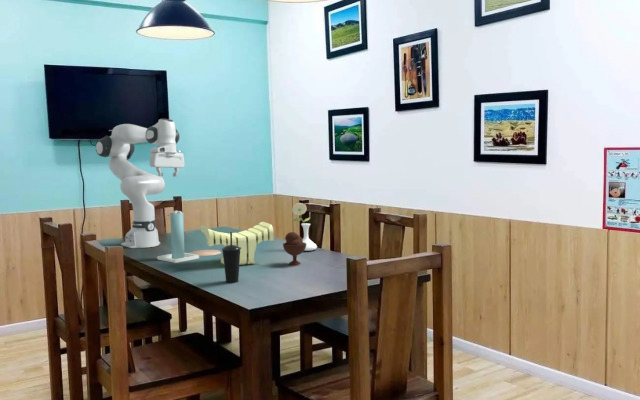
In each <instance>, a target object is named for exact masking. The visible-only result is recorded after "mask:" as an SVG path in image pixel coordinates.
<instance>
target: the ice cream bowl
mask: <svg viewBox="0 0 640 400" xmlns="http://www.w3.org/2000/svg"><path fill="white" fill-rule="evenodd" d="M302 239H303V237H302V236H300V235H299V234H298V233H296V232H294V231H291V232H288V233H287V234H286V235H285V237H284V240H285V241H286V242H284V243H282V246H283V249H284V252H286V253H287V255H288V254H289V255H290V256H292V260H291V261H290V262H289V263H288V265H289V264H290V266H299V265H298V264H300V265H301V262H300V261H298V260H297V257H298V256H299V255H301V254H302V253H304V252H305V251H304V250H305V248H306V243H304V242H303V240H302Z"/></svg>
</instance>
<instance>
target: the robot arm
mask: <svg viewBox="0 0 640 400" xmlns="http://www.w3.org/2000/svg"><path fill="white" fill-rule="evenodd" d="M179 141H180V133H179V131H178V130H177V128H176V123H175V121H174V120H173V119H169V118H168V119H167V118H160V119H158V122H156V123H155V124H154V125H152V126H149V127H148V128H147V127H144V126H141V125H137V124H133V123H132V124H131V123H123V124H119V125H116V126H115V127H113V128H112V131H111V135H110V136H108V135H105V136H104V137H102V138H100V139H98V140H97V141H96V144H95V151H96V154H97V155H98V156H99V157H101V158H102V157H103V158H110V160H109V162H108V168H109V170H110V171H111V174H112V175H114V176H115V177H116V178H118V180H120V181H121V182H120V185H119V186H120V187H119V188H120V191H121V193H122V194H123V195H124V196H126V198H128V200H129V202H130V203H131V205H132V209H133V221H132V222H131V225H132V226H131V229H130V230H129V231H128V232H126V233H125V237H124V239H125V241H124V242H121V243H120V245H121V246H123V247H126V248H129V249H140V248H142V249H144V248H151V247H152V248H153V247H157V246H159V245H160V244H161V241H159V239H160V238H159V233H158V229H157V228H156V227H157V222H156V221H157V220H156V217H155V216H156V215H155V206H154V205H153V203H151V202H149V201H148V200H147V196H151V195H158V194H160V193H162V192H163V191H164V190H165V187H166V183H165V180H164V178H163V174H164V173H163V172H162V168H167V169H168V168H169V169H171V168H172V169H173V170H174V172H173V173H172V177H175V178H177V177H178V173H179V171H180V169H183V168H185V166H186V165H185V164H186V163H185V156H184V152H182V151H181V150H177V144H178V142H179ZM140 143H141V144H142V143H149V144H151V145H158V146H155V147H152V148H150V150H149V151H150V154H149V166H150V167H151V168H155V169H156V172H157V174H153V173H150V172H148V171H145V170H143V169H140V168H138V167H137V166H136V165H134V164H133V163H132V162H131V161H129V160H130V159H131V157H132V156H133V155H134V152H135V144H140Z"/></svg>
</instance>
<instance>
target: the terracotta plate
mask: <svg viewBox="0 0 640 400" xmlns="http://www.w3.org/2000/svg"><path fill="white" fill-rule="evenodd" d="M188 253H189V254H195V255H199V257H202V256H204V257H206V256H214V255H215V256H216V255H221V254H222V250H218V249H197V250H191V251H190V252H188Z"/></svg>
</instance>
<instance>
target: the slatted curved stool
mask: <svg viewBox="0 0 640 400" xmlns="http://www.w3.org/2000/svg"><path fill="white" fill-rule="evenodd" d="M200 231H201V232H202V234H204V236H205V238H206V244H207V246H208V247H212V246H215V245H216V246H218V245H222V246H224V247H225V246H227V245H230V232H229V233H228V232H221V231H216V230H212V229H211V228H207V227H205V226H204V225H200ZM274 232H275V231H274V227H273V225H272V224H271V223H268V222H265V221H261V222H259V223H258V224H256V225H254V226H252V227H250V228H247V230H246V229H245V230H242V231H238V232H232V245H236V246H238V247H241V249H240V263H239V266H245V265H255V263H256V262H255V253H256V249H257V245H259V244H260V243H262V242H263V241H264V242H266V241H270V242H274V239H275V236H274V235H275V234H274ZM219 263H221V264H223V265H224V259H223V256H222V257H221V258H220V260H219Z"/></svg>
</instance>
